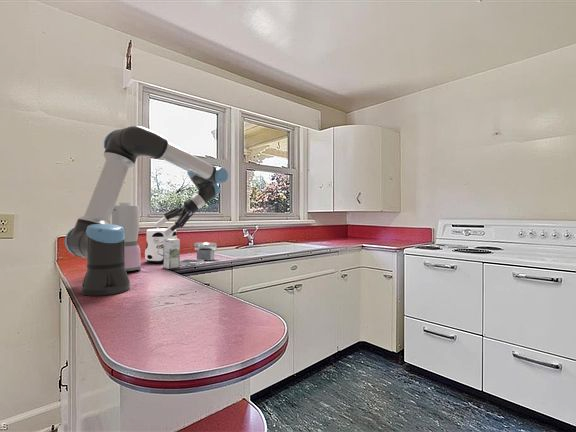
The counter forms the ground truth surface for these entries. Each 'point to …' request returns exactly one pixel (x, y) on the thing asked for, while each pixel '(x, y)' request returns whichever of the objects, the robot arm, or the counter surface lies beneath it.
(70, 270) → the counter surface
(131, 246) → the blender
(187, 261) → the steel flange
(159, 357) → the counter surface
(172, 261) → the syrup box
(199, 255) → the pillow block with shaft stub
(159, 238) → the milk container
